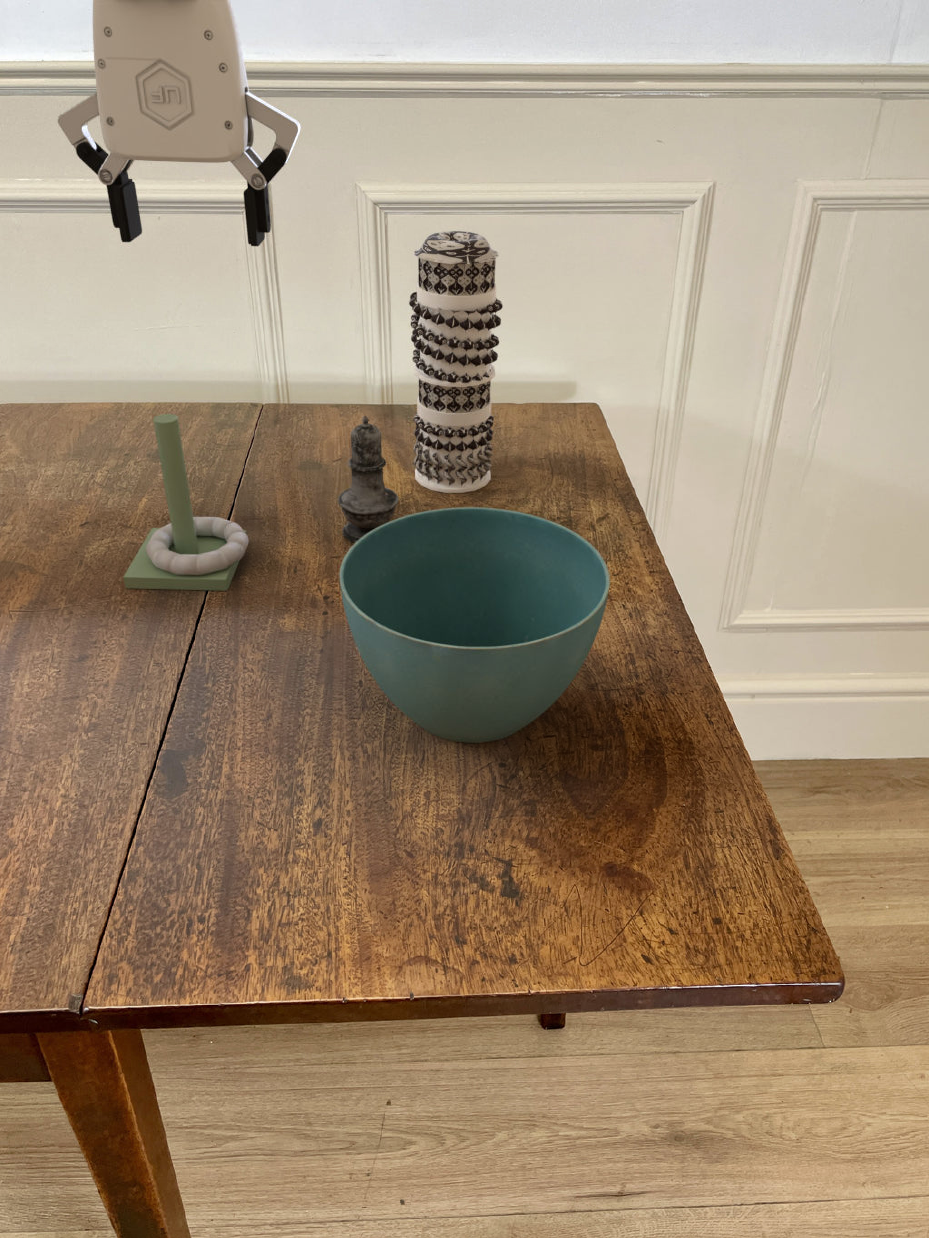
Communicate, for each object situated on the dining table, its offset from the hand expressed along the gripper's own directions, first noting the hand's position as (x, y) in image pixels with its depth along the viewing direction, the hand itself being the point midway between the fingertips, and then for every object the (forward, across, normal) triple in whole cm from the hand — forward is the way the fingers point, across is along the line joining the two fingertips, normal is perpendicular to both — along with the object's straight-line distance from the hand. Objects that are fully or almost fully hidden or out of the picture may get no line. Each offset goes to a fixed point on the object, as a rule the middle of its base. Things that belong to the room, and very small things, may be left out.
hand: (194, 240), depth 73 cm
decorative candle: (+28, +20, +18) cm, 39 cm away
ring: (+26, -3, -2) cm, 26 cm away
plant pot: (+28, +22, -22) cm, 42 cm away
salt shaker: (+28, +12, +5) cm, 31 cm away
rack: (+28, -4, -2) cm, 28 cm away
